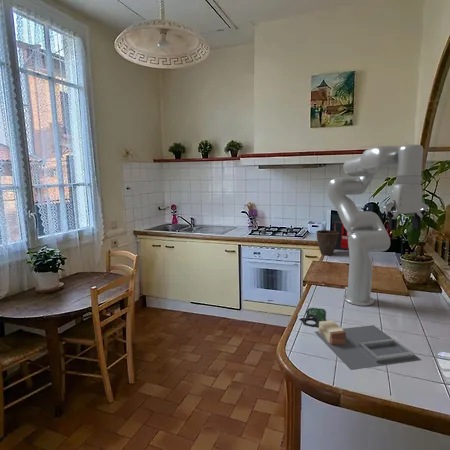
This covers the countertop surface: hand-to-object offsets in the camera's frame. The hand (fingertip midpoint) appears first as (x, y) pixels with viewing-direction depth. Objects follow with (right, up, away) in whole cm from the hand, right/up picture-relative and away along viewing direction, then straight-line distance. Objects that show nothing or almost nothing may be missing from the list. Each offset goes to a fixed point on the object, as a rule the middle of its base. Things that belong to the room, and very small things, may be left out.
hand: (404, 229), depth 115 cm
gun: (-29, -36, +12) cm, 48 cm away
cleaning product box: (+26, -17, +126) cm, 129 cm away
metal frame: (-13, -39, -13) cm, 43 cm away
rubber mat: (-18, -39, -8) cm, 44 cm away
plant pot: (+7, -19, +110) cm, 112 cm away
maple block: (-27, -38, -4) cm, 47 cm away
